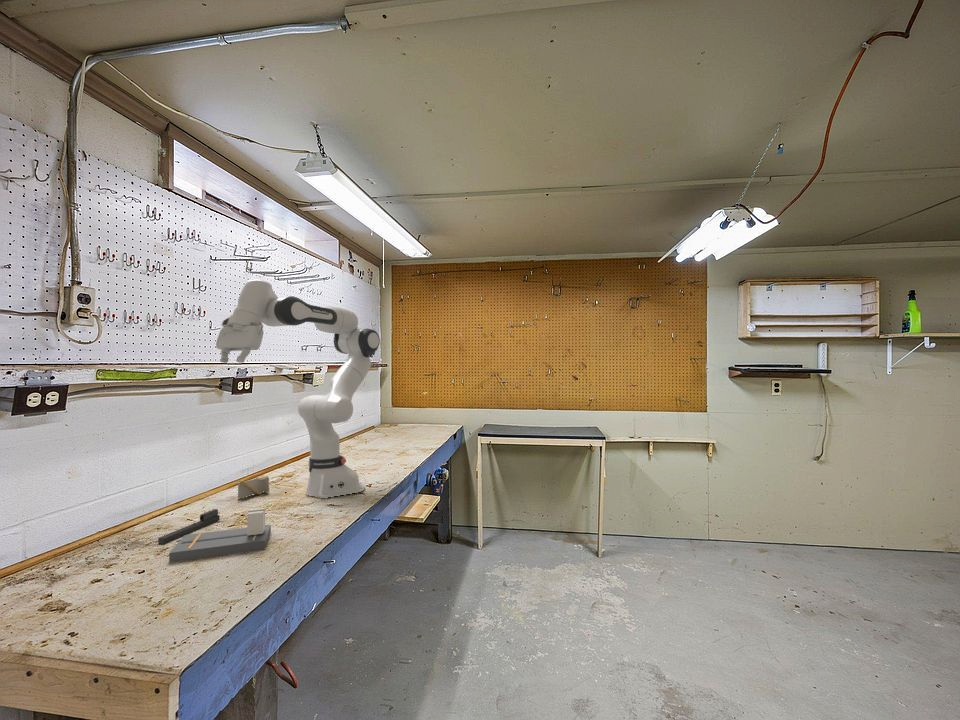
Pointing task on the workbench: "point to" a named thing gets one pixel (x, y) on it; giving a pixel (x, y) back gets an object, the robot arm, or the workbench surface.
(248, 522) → the fader cap
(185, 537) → the slider console
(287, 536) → the workbench surface
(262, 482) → the model
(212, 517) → the dark grey bar
